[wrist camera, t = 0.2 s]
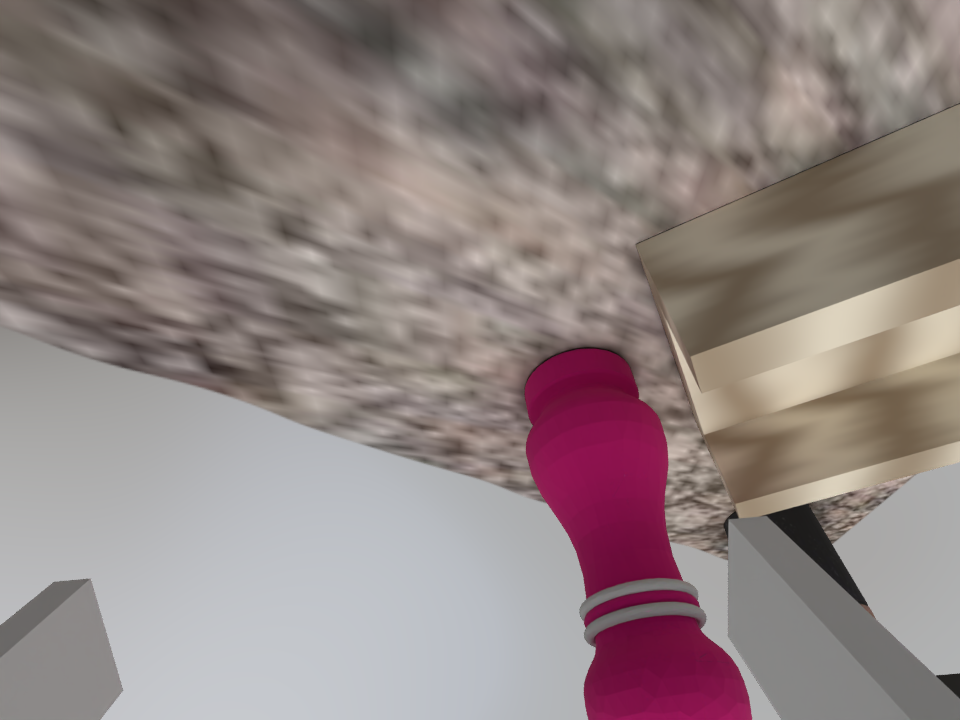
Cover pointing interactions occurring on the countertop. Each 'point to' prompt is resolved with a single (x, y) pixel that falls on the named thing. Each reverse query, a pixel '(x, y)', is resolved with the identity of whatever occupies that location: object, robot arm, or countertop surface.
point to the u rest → (823, 321)
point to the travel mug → (813, 545)
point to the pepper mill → (624, 545)
